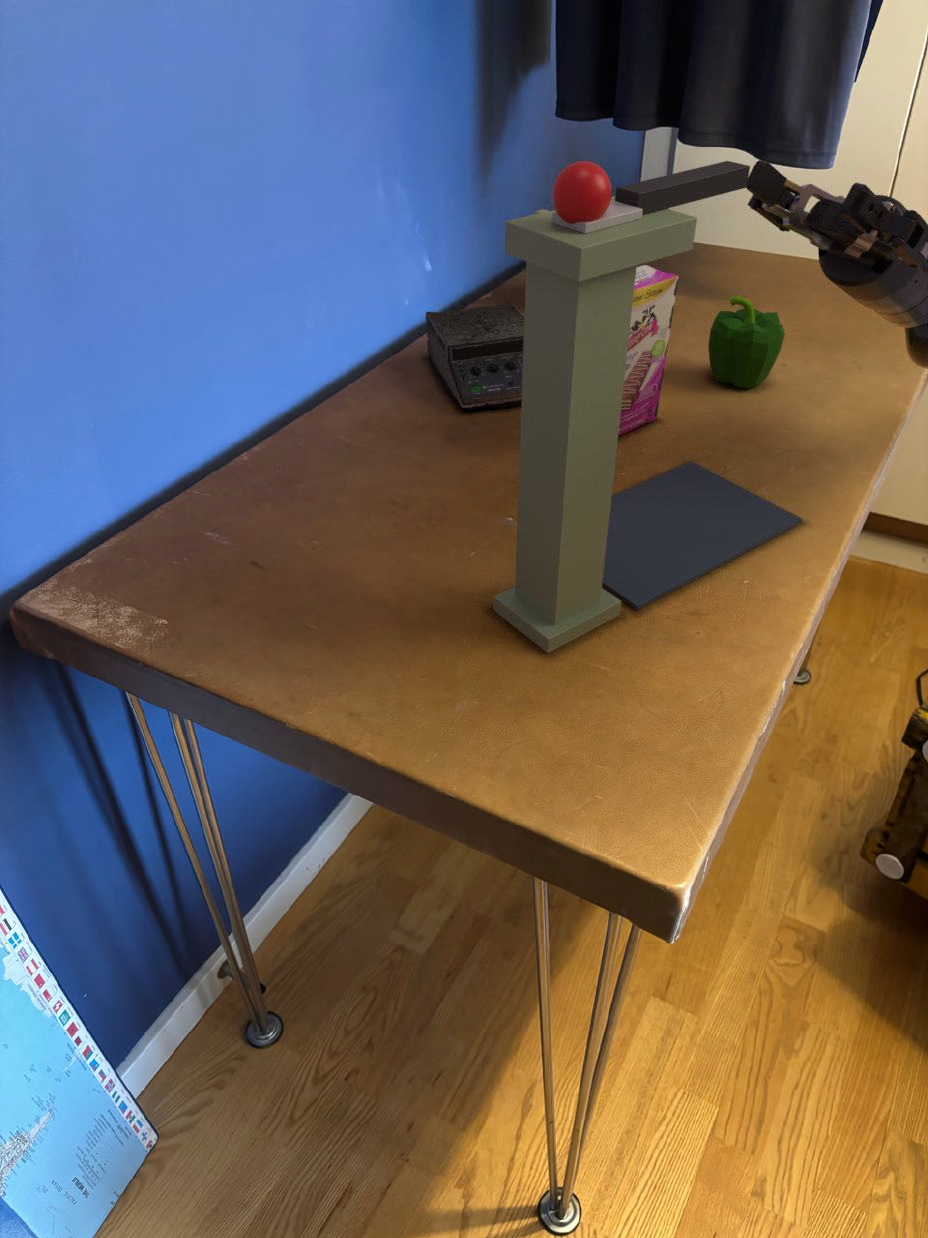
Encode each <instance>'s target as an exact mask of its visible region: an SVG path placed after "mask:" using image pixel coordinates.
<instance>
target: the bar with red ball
mask: <svg viewBox="0 0 928 1238" xmlns="http://www.w3.org/2000/svg"><path fill="white" fill-rule="evenodd" d="M750 169H751V165H747V164H744V163H739V162H735V161H729V160H725V161H721V162H717V163H713V164H707V165H703V166H699V167H696V168H695V167H694V168H691V169H687V170H684V171H683V170H682V171H679V172H675V173H671V174H670V173H669V174H666V175H662V176H658V177H654V178H650V179H649V178H648V179H645V180H642V181H641V180H640V181H637V182H633V183H629V184H624V185H620V186H616V187H615V195H614V196H615V201H613V200H611V197H612V196H613V195H612V194H613V192H612V191H613V190H612V188H613V187H612V184H611V180H610V177H609V176H608V174H607V173H606V171H605V170H604V169H603V167H601V166H600V165H598V164H596V163H595V162H592V161H588V160H587V161H586V160H579V161H575V162H572V163H571V164H568V165H567V166H565V167H564V168H563V169H562V170H561V171H560V172H559V173H558V174H557V177H556V179H555V180H554V183H553V186H552V188H551V189H552V191H551V200H552V206H553V208H554V209H553V210H555V211H556V212H555V213H552V223H554V224H557V225H560V226H563V227H566V228H569V229H572V230H575V231H578V232H582V233H585V234H586V233H589V232H593V231H597V230H601V229H604V228H608V227H612V226H616V225H619V224H623V223H627V222H631V221H634V220H638V219H641V218H642V215H645V214H649V213H652V212H656V211H660V210H664V209H671V208H674V207H679V206H682V205H686V204H689V203H690V204H691V203H693V202H697V201H702V200H705V199H708V198H712V197H716V196H721V195H725V194H728V193H732V192H735V191H739V190H743V189H747V188H746V187H747V182H748V177H749V175H750V171H751V170H750Z"/></svg>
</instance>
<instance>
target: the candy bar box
mask: <svg viewBox="0 0 928 1238" xmlns="http://www.w3.org/2000/svg"><path fill="white" fill-rule="evenodd" d="M679 277H680V276H678V275H676V274H674V273H671V272H668V271H665V270H663V269H659V268H655V267H652V266H651V265H647V264H642V265H639V266H637V267H636V276H635V286H634V295H633V304H632V313H631V322H630V332H629V341H628V350H627V359H626V368H625V378H624V387H623V396H622V405H621V414H620V424H619V433H618V437H620V436H622V435H624V434H626V433H629V432H631V431H633V430H635V429H637V428H640V427H642V426H645V425H647V424H649V423H651V422H654V421H656V420H657V419H658V418H657V417H658V410H659V406H660V405H659V404H660V399H661V398H660V397H661V392H662V385H663V378H664V372H665V366H666V359H667V352H668V347H669V346H668V345H669V340H670V334H671V329H672V322H673V321H672V320H673V314H674V307H675V301H676V295H677V290H678V282H679Z"/></svg>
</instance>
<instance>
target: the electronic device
mask: <svg viewBox="0 0 928 1238" xmlns="http://www.w3.org/2000/svg"><path fill="white" fill-rule="evenodd" d="M524 316H525V315H524V314H522V313H521V311H520V310H519V309H518V308H517V307H516V306H515V304H514V303H513V302H512V301H508V302H507V303H503V304H502V303H501V304H494V305H486V306H485V305H484V306H476V307H469V308H465V309H464V308H463V309H456V310H455V309H453V310H452V309H451V310H445V311H426V312H425V321H426V324H425V329H426V336H427V337H426V338H427V341H426V346H427V354H428V355H429V357H430V360H431V362H432V364H433V368H434V370H435V372H436V374H437V375H438V377H439V379H440V381H441V384H442V385H444V388H445V390H446V392H447V394H448V395H449V396H450V397H451V398H452V401H453V402H454V403H456V404H457V405H458V406H459V407H460V408H461V409H462V410H465V411H474V410H479V409H480V410H487V409H503V408H509V407H513V406H514V407H515V406H519V405H521V403H522V374H523V345H524Z"/></svg>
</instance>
